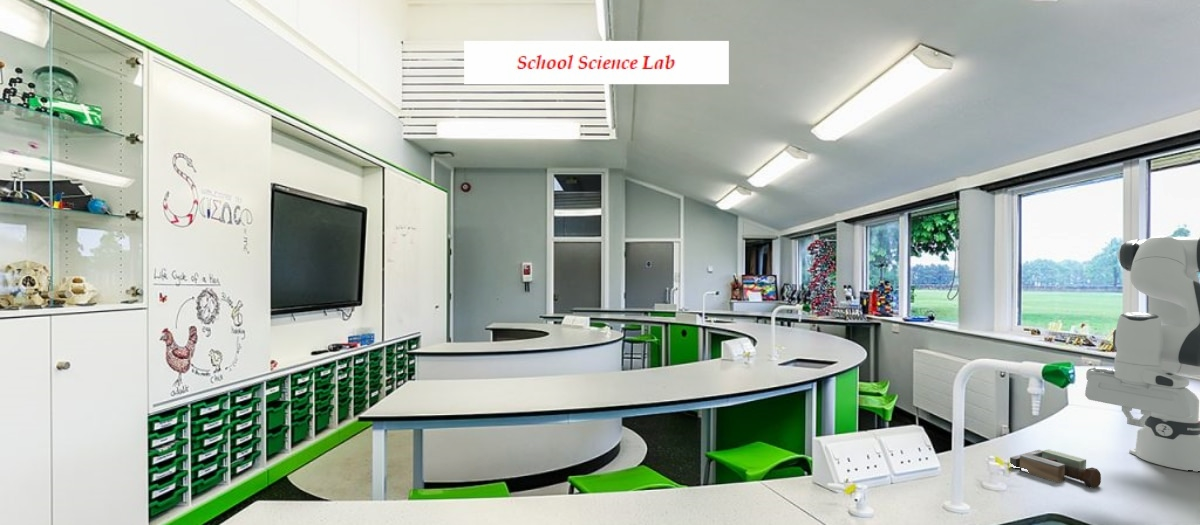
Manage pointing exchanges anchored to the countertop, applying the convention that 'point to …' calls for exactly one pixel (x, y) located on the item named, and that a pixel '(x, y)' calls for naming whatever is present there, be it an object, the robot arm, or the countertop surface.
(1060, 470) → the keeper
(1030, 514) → the countertop surface
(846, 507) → the countertop surface
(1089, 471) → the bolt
